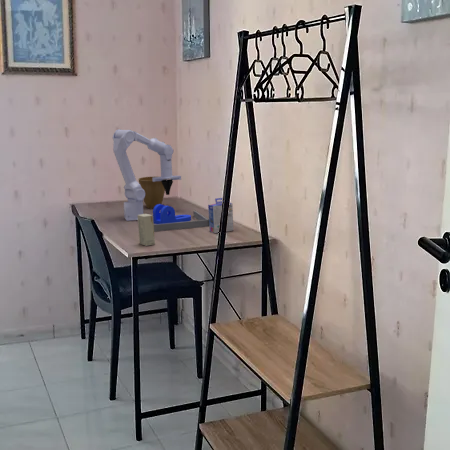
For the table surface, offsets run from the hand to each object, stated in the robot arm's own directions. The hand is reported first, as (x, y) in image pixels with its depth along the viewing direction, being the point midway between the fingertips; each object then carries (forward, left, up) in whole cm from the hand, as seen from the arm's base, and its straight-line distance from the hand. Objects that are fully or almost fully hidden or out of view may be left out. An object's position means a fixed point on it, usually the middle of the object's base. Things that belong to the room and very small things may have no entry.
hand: (167, 194), depth 321 cm
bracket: (-3, -24, -10) cm, 26 cm away
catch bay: (-4, -28, -9) cm, 30 cm away
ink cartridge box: (+12, -53, -10) cm, 55 cm away
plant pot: (-4, +18, -10) cm, 21 cm away
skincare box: (-23, -63, -10) cm, 68 cm away
